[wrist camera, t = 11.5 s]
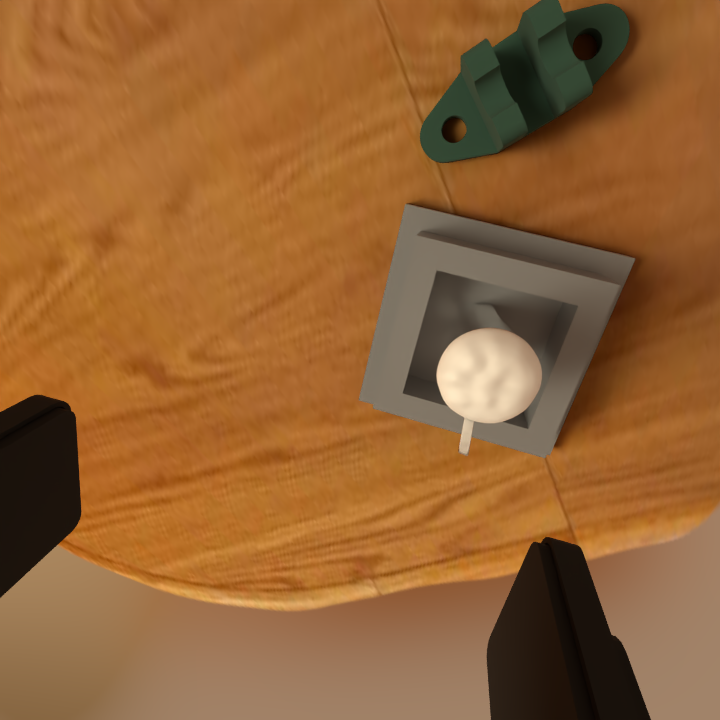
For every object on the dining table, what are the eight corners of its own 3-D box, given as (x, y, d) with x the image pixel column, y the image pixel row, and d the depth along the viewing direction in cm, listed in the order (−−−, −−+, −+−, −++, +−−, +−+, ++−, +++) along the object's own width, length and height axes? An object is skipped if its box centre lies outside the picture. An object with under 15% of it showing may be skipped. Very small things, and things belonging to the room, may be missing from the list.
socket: (407, 203, 28) (399, 205, 24) (629, 256, 26) (657, 266, 23) (361, 394, 33) (349, 420, 29) (547, 447, 31) (558, 481, 28)
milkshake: (427, 360, 30) (413, 436, 21) (459, 281, 28) (458, 326, 19) (495, 384, 29) (512, 473, 20) (532, 306, 27) (569, 365, 18)
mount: (602, -18, 23) (637, -71, 18) (636, 70, 24) (678, 40, 19) (406, 114, 26) (394, 98, 22) (442, 186, 27) (438, 185, 23)
